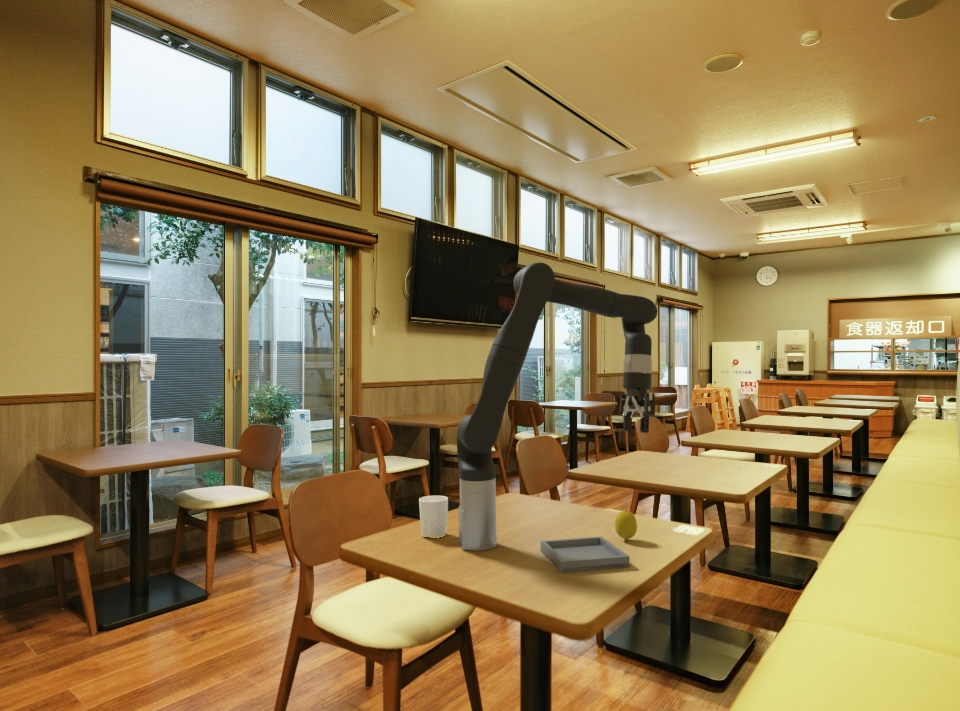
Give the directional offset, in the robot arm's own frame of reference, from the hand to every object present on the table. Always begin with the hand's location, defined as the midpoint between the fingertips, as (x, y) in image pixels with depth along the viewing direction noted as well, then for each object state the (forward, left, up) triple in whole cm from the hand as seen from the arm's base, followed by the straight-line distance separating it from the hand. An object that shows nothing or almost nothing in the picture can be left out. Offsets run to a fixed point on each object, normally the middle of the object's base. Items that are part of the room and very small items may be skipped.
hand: (635, 431), depth 160 cm
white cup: (-54, +12, -28) cm, 61 cm away
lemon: (-6, -5, -28) cm, 29 cm away
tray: (-22, -16, -27) cm, 38 cm away
